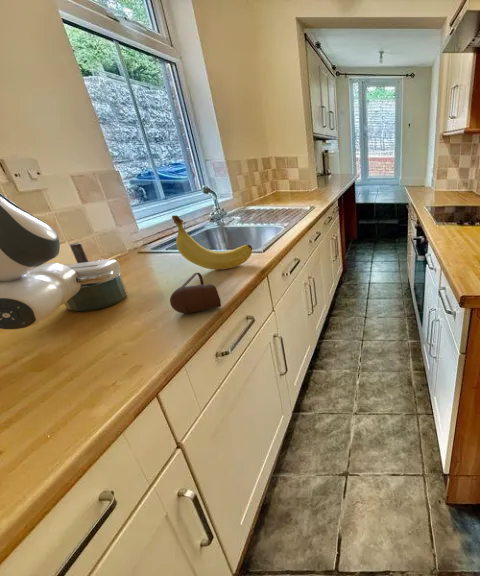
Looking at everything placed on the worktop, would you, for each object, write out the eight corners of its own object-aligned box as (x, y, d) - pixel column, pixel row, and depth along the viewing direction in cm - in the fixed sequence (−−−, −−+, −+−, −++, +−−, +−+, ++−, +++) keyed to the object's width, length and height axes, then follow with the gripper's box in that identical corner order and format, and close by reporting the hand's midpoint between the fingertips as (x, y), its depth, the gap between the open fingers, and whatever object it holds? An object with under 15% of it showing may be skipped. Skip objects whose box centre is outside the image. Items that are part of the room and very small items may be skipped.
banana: (253, 260, 121) (243, 207, 112) (256, 265, 116) (246, 210, 108) (184, 272, 110) (168, 214, 102) (185, 277, 105) (168, 217, 97)
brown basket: (223, 311, 83) (217, 287, 81) (171, 320, 79) (163, 295, 76) (225, 286, 98) (220, 265, 96) (182, 292, 94) (176, 271, 92)
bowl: (71, 318, 81) (59, 293, 78) (64, 302, 89) (53, 279, 86) (133, 300, 90) (125, 277, 87) (121, 288, 98) (113, 266, 95)
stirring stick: (94, 301, 87) (70, 245, 81) (92, 299, 89) (69, 244, 82) (104, 299, 89) (81, 243, 82) (102, 296, 90) (80, 242, 84)
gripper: (103, 264, 74) (124, 248, 85) (-15, 277, 67) (25, 257, 79) (113, 289, 76) (131, 270, 88) (0, 303, 70) (37, 280, 81)
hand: (80, 264), depth 83 cm, fingers open, 8 cm apart
